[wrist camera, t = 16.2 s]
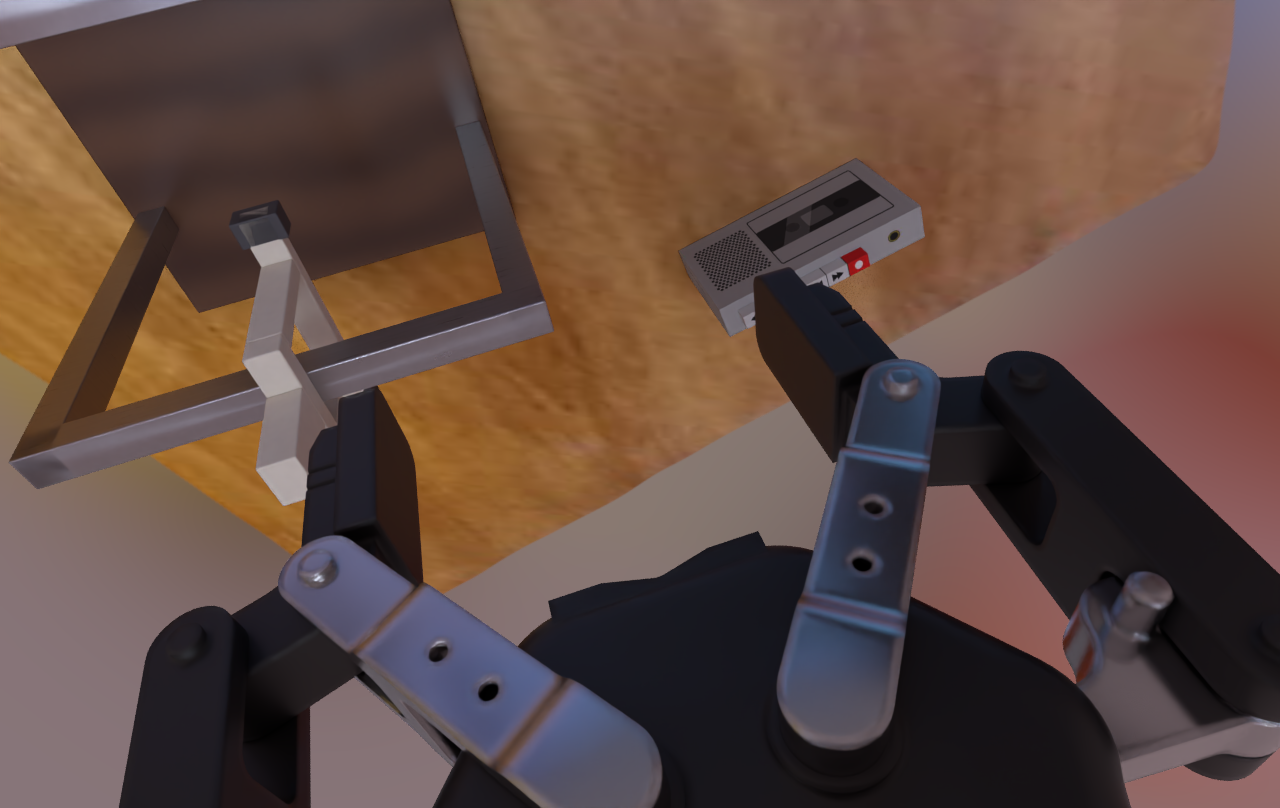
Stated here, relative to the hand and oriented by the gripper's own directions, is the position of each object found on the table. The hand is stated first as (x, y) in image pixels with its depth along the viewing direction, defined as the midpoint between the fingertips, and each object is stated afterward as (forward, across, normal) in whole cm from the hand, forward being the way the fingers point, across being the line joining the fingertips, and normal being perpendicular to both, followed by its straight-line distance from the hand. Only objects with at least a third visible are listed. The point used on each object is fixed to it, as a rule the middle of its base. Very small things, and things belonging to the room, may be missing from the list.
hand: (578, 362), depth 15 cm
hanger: (+21, +11, +9) cm, 25 cm away
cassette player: (+38, -20, +21) cm, 47 cm away
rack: (+37, +11, +2) cm, 39 cm away
